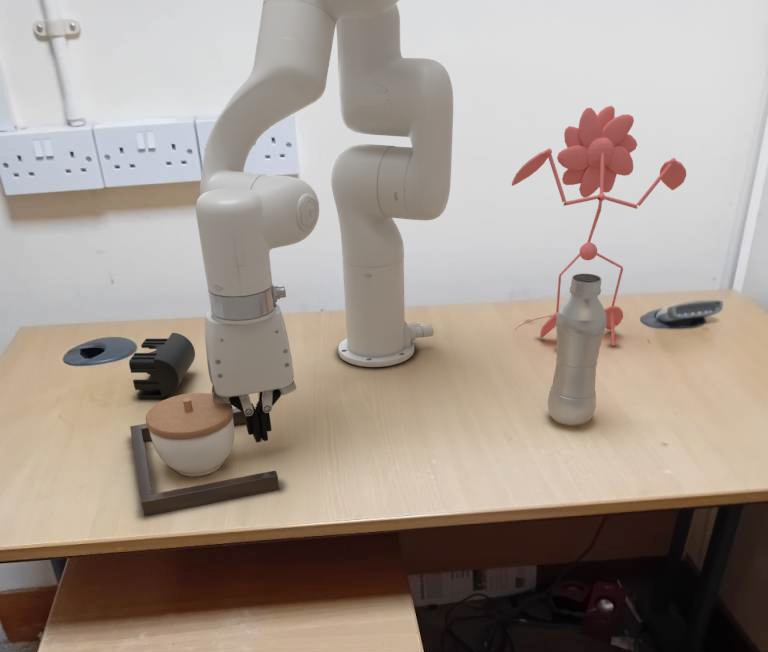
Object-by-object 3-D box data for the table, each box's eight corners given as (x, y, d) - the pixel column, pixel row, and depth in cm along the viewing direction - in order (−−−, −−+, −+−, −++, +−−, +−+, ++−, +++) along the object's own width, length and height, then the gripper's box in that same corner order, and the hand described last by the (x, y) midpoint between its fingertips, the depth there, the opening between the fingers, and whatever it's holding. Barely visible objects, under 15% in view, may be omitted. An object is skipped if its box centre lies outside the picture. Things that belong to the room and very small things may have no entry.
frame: (250, 418, 113) (248, 405, 112) (279, 489, 98) (277, 475, 97) (133, 438, 109) (129, 426, 108) (144, 516, 94) (140, 502, 93)
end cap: (182, 400, 118) (174, 358, 114) (136, 400, 119) (126, 358, 115) (199, 372, 126) (192, 332, 122) (155, 372, 127) (147, 332, 123)
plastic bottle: (566, 435, 107) (583, 291, 95) (536, 415, 112) (549, 275, 100) (603, 424, 109) (625, 281, 97) (572, 404, 114) (589, 266, 102)
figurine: (664, 344, 130) (709, 109, 110) (513, 357, 128) (530, 119, 107) (627, 310, 143) (662, 93, 123) (489, 322, 140) (500, 102, 120)
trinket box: (163, 446, 107) (149, 383, 102) (242, 440, 108) (232, 378, 102) (151, 489, 98) (136, 423, 93) (238, 483, 99) (227, 417, 94)
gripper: (296, 283, 98) (308, 414, 109) (174, 300, 94) (199, 434, 105) (311, 303, 92) (322, 439, 103) (182, 321, 88) (207, 461, 99)
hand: (260, 436), depth 104 cm, fingers closed
